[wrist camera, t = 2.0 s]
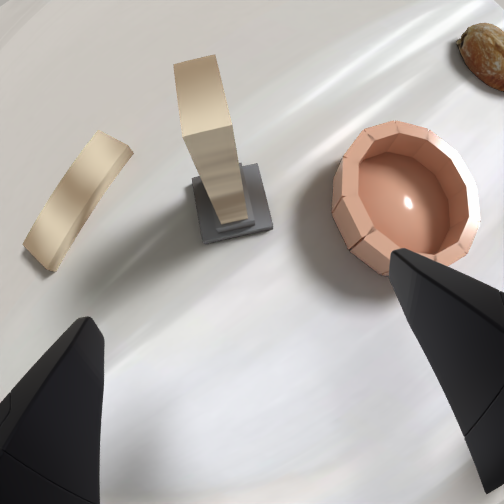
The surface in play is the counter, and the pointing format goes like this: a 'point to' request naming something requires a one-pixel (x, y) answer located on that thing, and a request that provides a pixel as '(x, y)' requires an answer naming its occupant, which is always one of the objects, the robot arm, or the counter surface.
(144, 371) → the counter surface
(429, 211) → the bowl
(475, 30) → the bread roll
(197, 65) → the wooden pillar
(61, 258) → the light wooden flat block
